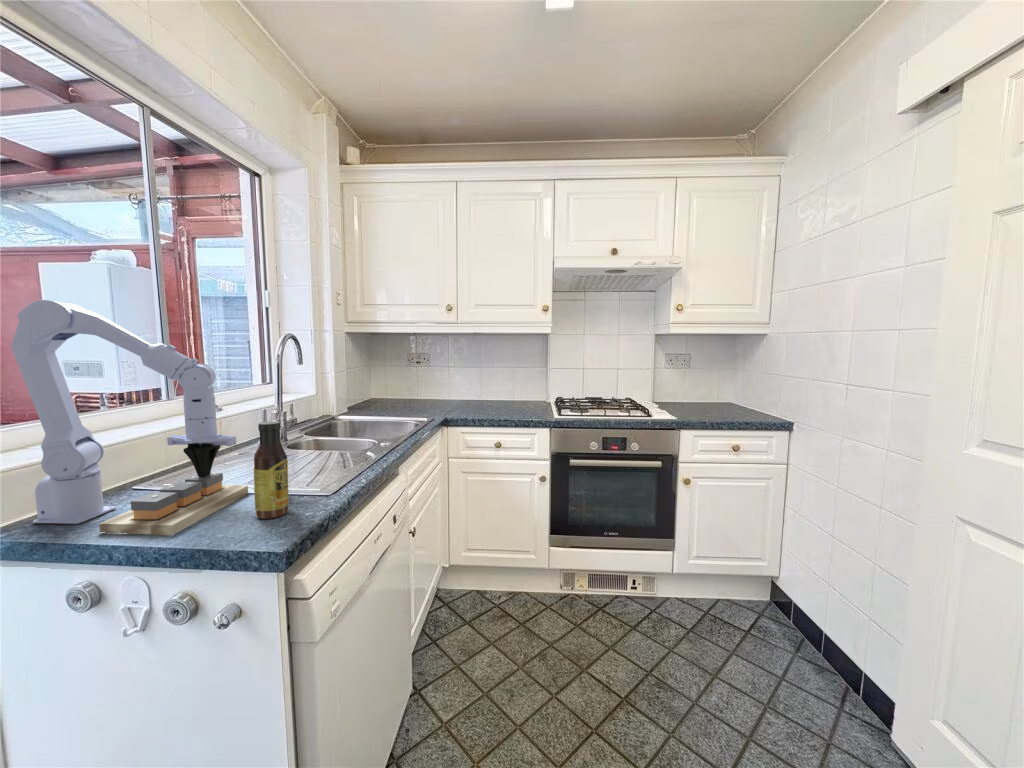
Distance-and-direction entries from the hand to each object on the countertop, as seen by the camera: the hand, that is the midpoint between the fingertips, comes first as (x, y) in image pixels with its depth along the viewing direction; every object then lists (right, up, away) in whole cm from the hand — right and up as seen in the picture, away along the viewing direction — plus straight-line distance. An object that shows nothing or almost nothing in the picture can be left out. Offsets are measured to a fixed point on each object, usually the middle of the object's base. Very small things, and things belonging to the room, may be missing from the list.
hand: (204, 475), depth 95 cm
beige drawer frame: (0, -6, -6) cm, 9 cm away
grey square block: (0, -5, -13) cm, 14 cm away
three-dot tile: (0, -4, 0) cm, 4 cm away
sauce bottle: (+20, -7, -7) cm, 22 cm away
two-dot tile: (0, -4, -6) cm, 7 cm away
